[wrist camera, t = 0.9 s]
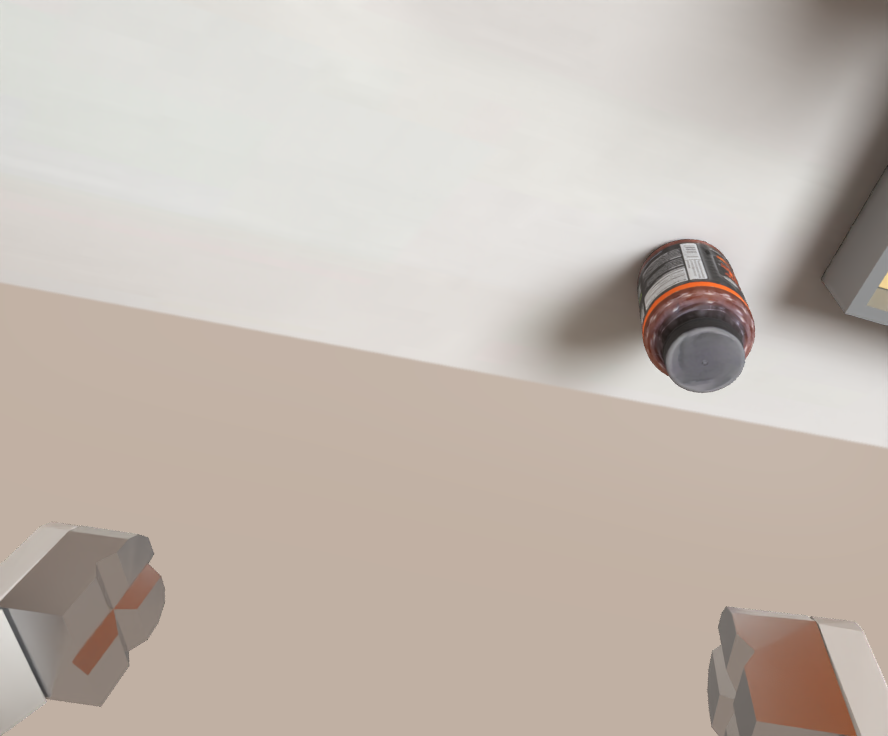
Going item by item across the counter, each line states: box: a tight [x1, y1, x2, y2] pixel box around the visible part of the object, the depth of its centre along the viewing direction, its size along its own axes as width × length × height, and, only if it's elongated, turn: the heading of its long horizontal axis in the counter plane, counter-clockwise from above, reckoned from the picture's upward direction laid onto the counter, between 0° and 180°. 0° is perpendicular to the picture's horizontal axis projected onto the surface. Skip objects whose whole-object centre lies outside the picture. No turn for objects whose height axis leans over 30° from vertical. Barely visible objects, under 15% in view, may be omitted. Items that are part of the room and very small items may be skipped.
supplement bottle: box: [637, 239, 755, 393], centre depth 40 cm, size 6×6×11 cm
